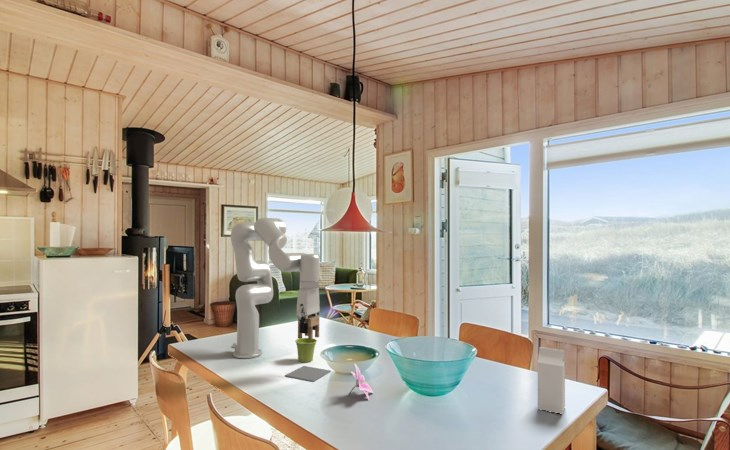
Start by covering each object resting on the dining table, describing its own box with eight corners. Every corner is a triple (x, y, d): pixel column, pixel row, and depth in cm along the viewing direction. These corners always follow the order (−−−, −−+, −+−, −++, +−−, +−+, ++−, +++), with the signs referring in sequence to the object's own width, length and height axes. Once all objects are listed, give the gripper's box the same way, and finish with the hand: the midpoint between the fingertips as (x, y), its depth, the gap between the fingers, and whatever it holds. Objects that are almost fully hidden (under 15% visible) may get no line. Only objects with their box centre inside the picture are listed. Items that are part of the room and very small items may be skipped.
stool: (297, 338, 157) (298, 317, 157) (306, 335, 162) (306, 315, 163) (310, 340, 154) (311, 319, 155) (319, 336, 160) (319, 316, 160)
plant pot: (318, 357, 179) (318, 338, 180) (313, 364, 170) (314, 343, 170) (298, 356, 180) (298, 337, 181) (292, 363, 171) (292, 342, 171)
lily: (354, 409, 128) (370, 383, 129) (330, 386, 135) (345, 361, 136) (372, 408, 138) (386, 384, 138) (349, 387, 145) (362, 364, 146)
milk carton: (562, 415, 124) (562, 353, 124) (537, 410, 127) (537, 349, 128) (565, 407, 130) (564, 347, 130) (541, 402, 134) (541, 344, 134)
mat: (284, 376, 155) (284, 375, 155) (303, 366, 167) (303, 365, 167) (313, 381, 149) (313, 380, 149) (331, 371, 161) (331, 370, 161)
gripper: (313, 282, 168) (312, 326, 168) (288, 287, 153) (287, 335, 152) (328, 283, 165) (328, 328, 165) (304, 288, 150) (304, 337, 149)
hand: (308, 330), depth 158 cm, fingers closed on stool, 6 cm apart
